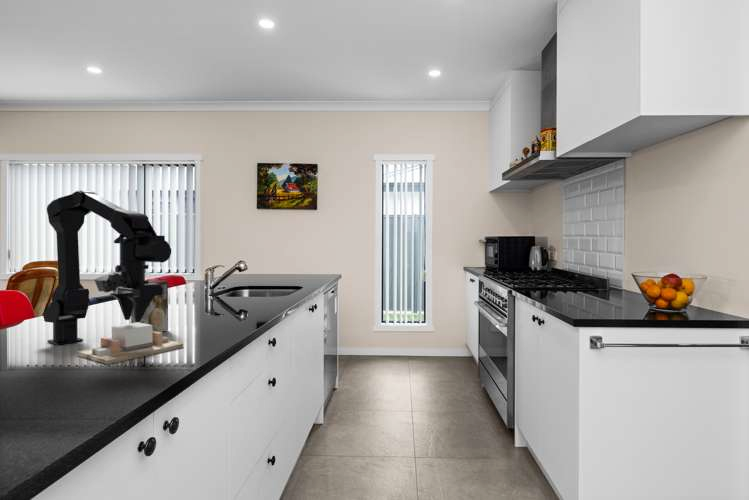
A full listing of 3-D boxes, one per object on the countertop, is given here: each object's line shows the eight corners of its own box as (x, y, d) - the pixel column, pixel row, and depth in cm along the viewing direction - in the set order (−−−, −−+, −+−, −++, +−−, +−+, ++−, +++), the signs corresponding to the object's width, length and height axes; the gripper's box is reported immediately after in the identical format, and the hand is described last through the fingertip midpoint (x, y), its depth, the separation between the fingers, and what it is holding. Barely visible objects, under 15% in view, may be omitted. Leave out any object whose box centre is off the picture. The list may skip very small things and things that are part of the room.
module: (111, 347, 114) (111, 326, 114) (138, 342, 120) (138, 322, 120) (125, 351, 111) (125, 329, 111) (152, 345, 117) (152, 325, 117)
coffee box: (151, 329, 142) (151, 280, 142) (168, 330, 141) (168, 280, 141) (130, 335, 133) (130, 282, 133) (148, 336, 132) (148, 283, 132)
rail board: (77, 355, 111) (77, 338, 111) (153, 340, 128) (153, 326, 128) (106, 364, 103) (106, 346, 103) (183, 347, 120) (183, 332, 120)
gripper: (80, 260, 113) (81, 321, 113) (120, 264, 103) (120, 330, 104) (124, 259, 122) (124, 315, 123) (164, 262, 113) (164, 323, 113)
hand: (132, 320), depth 115 cm, fingers open, 5 cm apart
